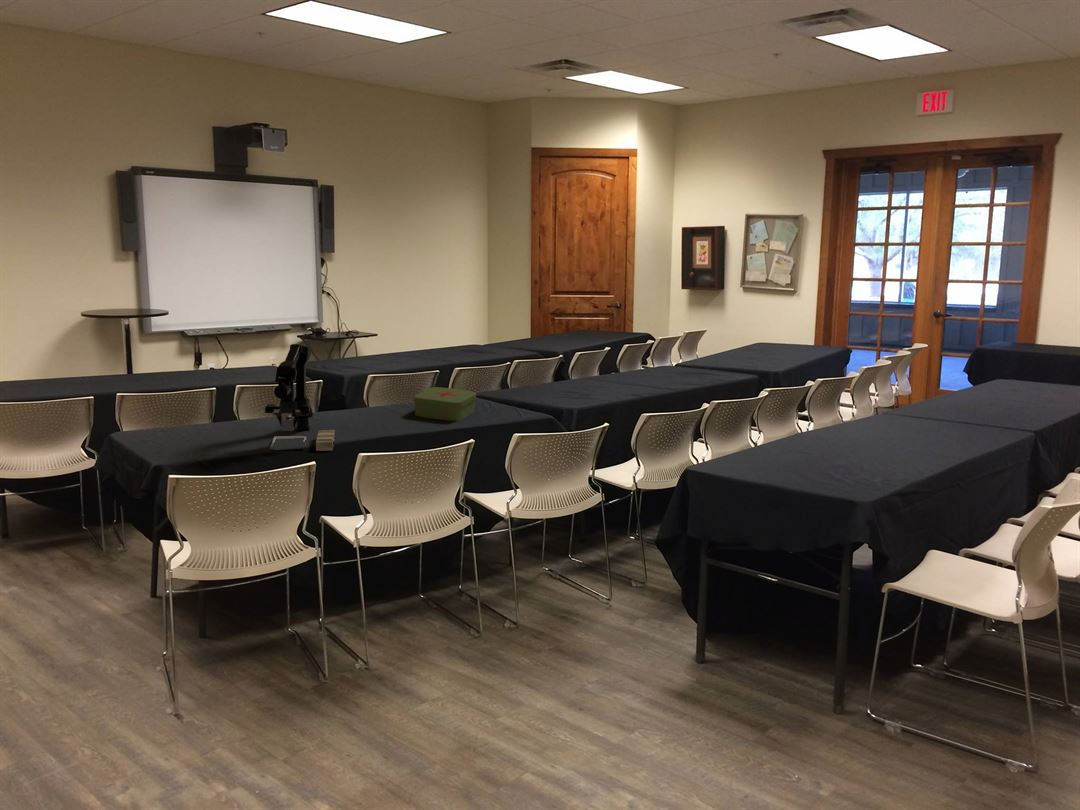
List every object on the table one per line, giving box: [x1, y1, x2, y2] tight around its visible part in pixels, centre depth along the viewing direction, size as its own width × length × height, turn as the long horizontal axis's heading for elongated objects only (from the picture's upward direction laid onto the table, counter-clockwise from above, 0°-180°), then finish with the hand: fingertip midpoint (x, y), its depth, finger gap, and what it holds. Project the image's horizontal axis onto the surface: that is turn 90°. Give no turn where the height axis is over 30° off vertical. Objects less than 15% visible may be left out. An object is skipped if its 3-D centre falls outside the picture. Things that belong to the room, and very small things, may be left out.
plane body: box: [315, 429, 336, 452], centre depth 394 cm, size 18×7×4 cm, turn 10°
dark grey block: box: [280, 414, 295, 432], centre depth 389 cm, size 7×5×5 cm
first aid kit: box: [413, 386, 477, 422], centre depth 454 cm, size 26×26×10 cm
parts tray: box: [269, 435, 307, 447], centre depth 392 cm, size 16×14×2 cm
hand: (288, 427), depth 390 cm, fingers closed on dark grey block, 5 cm apart
